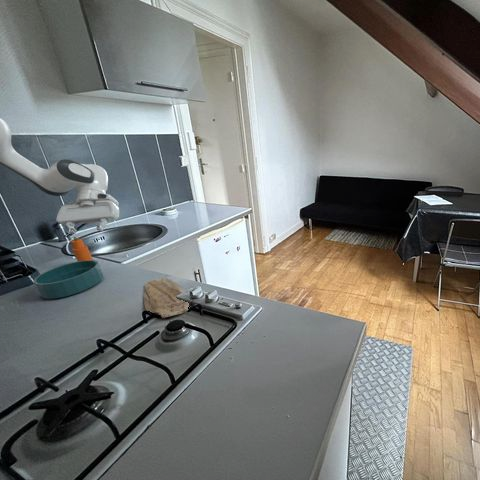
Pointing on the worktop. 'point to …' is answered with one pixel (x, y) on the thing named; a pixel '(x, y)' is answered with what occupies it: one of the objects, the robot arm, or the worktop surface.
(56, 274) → the bowl
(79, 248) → the carrot
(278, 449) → the worktop surface
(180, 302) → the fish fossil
